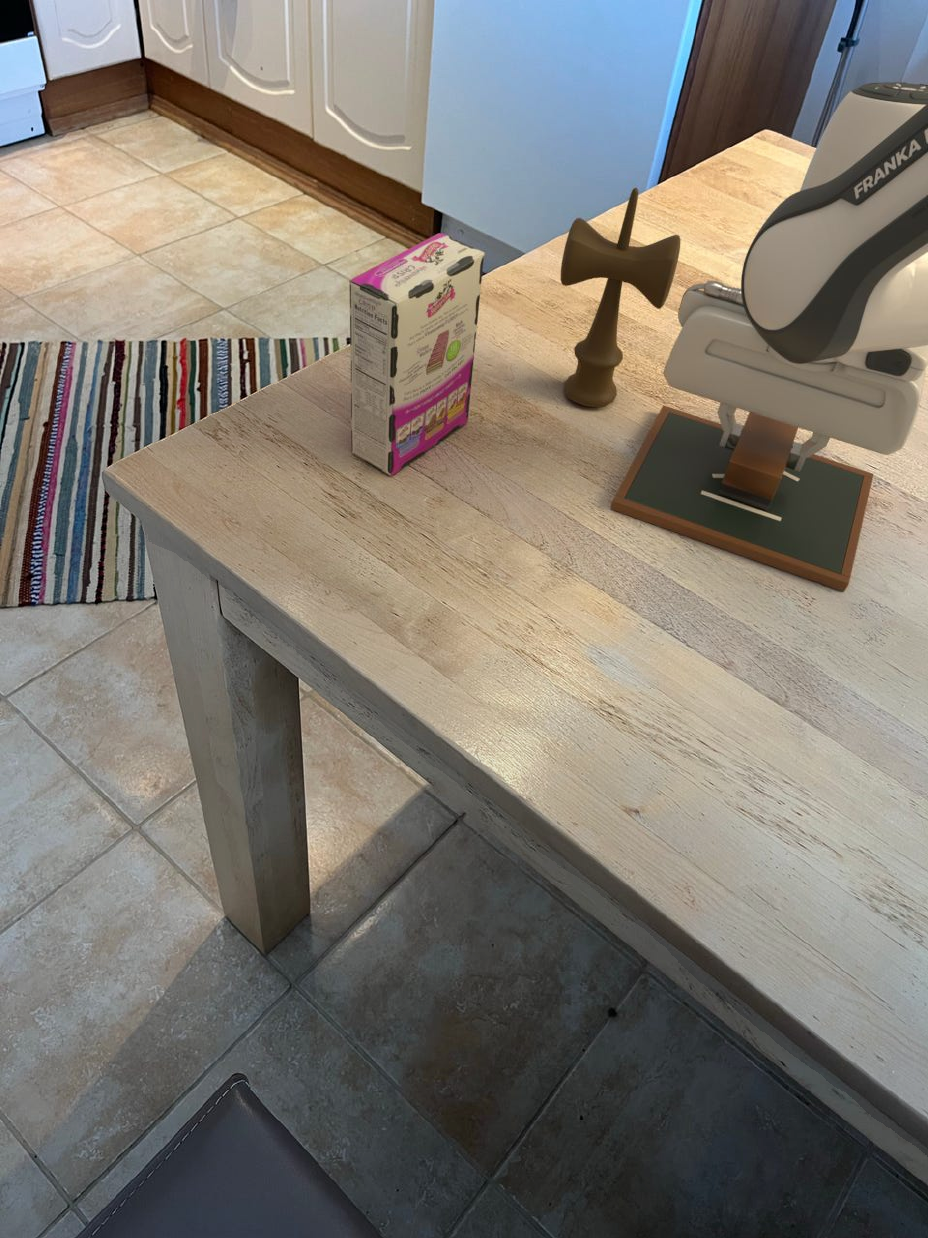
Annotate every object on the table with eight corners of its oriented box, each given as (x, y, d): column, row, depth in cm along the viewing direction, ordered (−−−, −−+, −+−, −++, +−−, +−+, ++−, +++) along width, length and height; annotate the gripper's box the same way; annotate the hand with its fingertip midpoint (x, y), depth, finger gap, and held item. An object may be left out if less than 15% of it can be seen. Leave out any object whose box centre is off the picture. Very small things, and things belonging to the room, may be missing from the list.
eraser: (788, 448, 87) (802, 416, 84) (767, 511, 81) (781, 477, 78) (741, 433, 88) (754, 400, 85) (717, 494, 81) (729, 460, 79)
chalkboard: (869, 482, 87) (874, 472, 86) (844, 592, 76) (849, 583, 75) (660, 413, 91) (663, 404, 90) (610, 509, 80) (612, 499, 80)
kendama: (634, 424, 89) (691, 214, 74) (534, 401, 90) (571, 190, 75) (641, 390, 93) (697, 185, 78) (546, 369, 94) (584, 162, 79)
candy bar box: (426, 400, 88) (439, 229, 76) (469, 423, 87) (489, 251, 75) (345, 453, 82) (346, 275, 70) (389, 479, 80) (398, 301, 68)
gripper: (678, 290, 73) (637, 436, 83) (949, 370, 69) (871, 514, 79) (698, 257, 77) (657, 401, 87) (954, 331, 73) (879, 472, 83)
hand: (760, 455), depth 83 cm, fingers closed on eraser, 4 cm apart
